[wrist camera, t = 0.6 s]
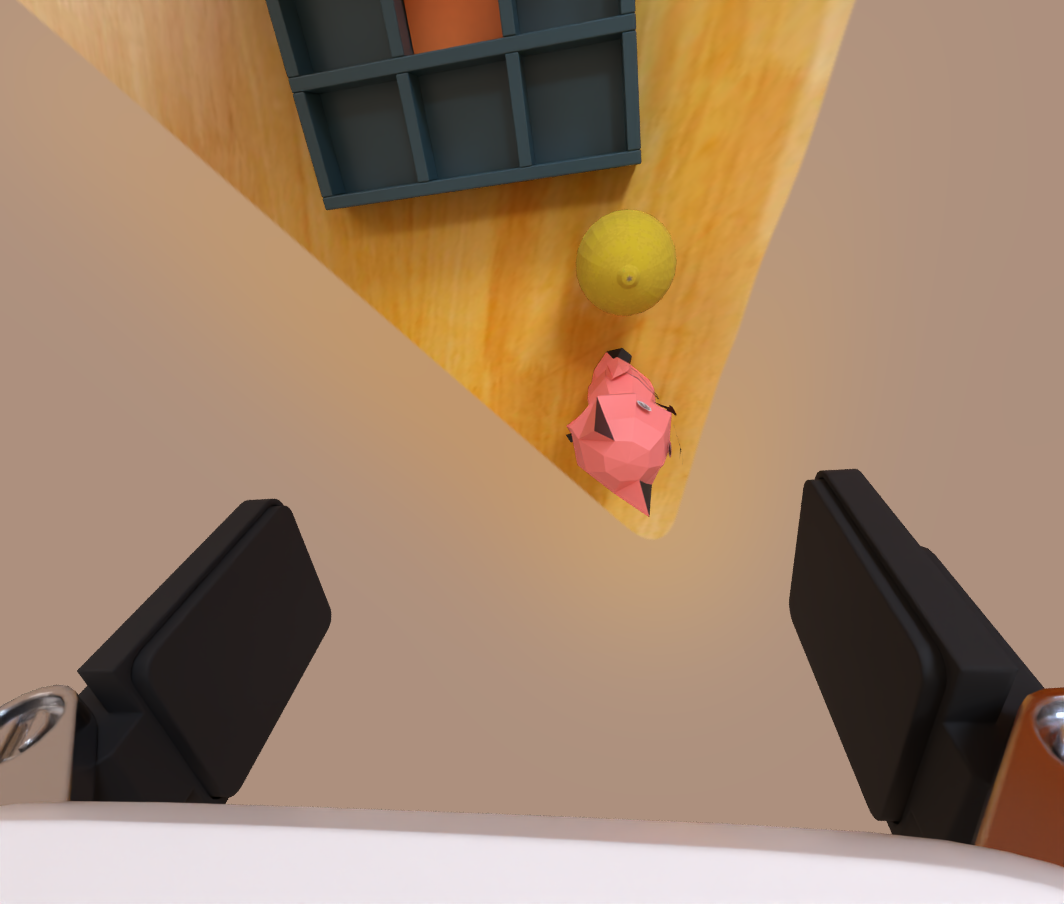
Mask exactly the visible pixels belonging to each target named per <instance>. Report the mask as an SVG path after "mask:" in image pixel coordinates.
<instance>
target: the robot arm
mask: <svg viewBox="0 0 1064 904" xmlns="http://www.w3.org/2000/svg"><path fill="white" fill-rule="evenodd" d="M789 608H790V614H791V619H792V622H793V624H794V627H795V629H796V632H797V634H798V636H799V639H800V641H801V644H802V646H803V649H804V651H805V653H806V656H807V658H808V661H809V663H810V666H811V668H812V671H813V673H814V676H815V678H816V681H817V683H818V686H819V688H820V690H821V693H822V695H823V698H824V700H825V703H826V705H827V708H828V710H829V712H830V715H831V717H832V720H833V722H834V725H835V727H836V730H837V732H838V734H839V737H840V739H841V742H842V744H843V747H844V749H845V752H846V754H847V757H848V759H849V761H850V764H851V766H852V769H853V771H854V774H855V776H856V779H857V781H858V783H859V786H860V788H861V791H862V793H863V796H864V798H865V800H866V803H867V805H868V808H869V809H870V812H871V814H872V815H873V816H874V818H875V819H876V820H878V821H887V823H888V826H889V828H890V830H891V832H892V834H882V833H873V832H860V831H843V830H827V829H810V828H794V827H777V826H776V827H775V826H761V825H744V824H725V823H703V822H702V823H701V822H679V821H657V820H656V821H655V820H632V819H610V818H587V817H564V816H541V815H516V814H489V813H464V812H437V811H410V810H382V809H355V808H329V807H328V808H327V807H298V806H265V805H234V804H226V802H227V800H228V798H229V797H232V796H234V795H235V794H236V793H237V792H238V791H239V789H240V788H241V786H242V785H243V783H244V781H245V779H246V777H247V775H248V774H249V772H250V770H251V768H252V766H253V765H254V763H255V761H256V759H257V757H258V755H259V754H260V752H261V750H262V748H263V746H264V745H265V743H266V741H267V739H268V737H269V735H270V734H271V732H272V730H273V728H274V726H275V725H276V723H277V721H278V719H279V717H280V715H281V714H282V712H283V710H284V708H285V706H286V705H287V703H288V701H289V699H290V697H291V695H292V694H293V692H294V690H295V688H296V686H297V684H298V683H299V681H300V679H301V677H302V676H303V673H304V672H305V670H306V668H307V666H308V665H309V662H310V661H311V659H312V657H313V656H314V654H315V652H316V650H317V648H318V647H319V645H320V642H321V641H322V639H323V637H324V636H325V634H326V632H327V630H328V628H329V626H330V622H331V609H330V606H329V604H328V601H327V599H326V596H325V594H324V591H323V588H322V586H321V583H320V581H319V578H318V576H317V574H316V571H315V568H314V566H313V563H312V561H311V558H310V556H309V553H308V551H307V549H306V546H305V544H304V541H303V538H302V536H301V533H300V531H299V528H298V526H297V524H296V521H295V518H294V516H293V513H292V511H291V510H290V508H288V507H287V506H284V505H283V504H282V503H281V502H280V501H279V500H277V499H262V500H247V501H244V502H243V503H241V504H240V505H239V507H237V508H236V509H235V510H234V512H232V514H230V515H229V517H228V518H227V519H226V520H225V521H224V522H223V523H222V524H221V525H220V526H219V527H218V528H217V529H216V530H215V531H214V532H213V533H212V534H211V535H210V536H209V537H208V538H207V539H206V540H205V541H204V542H203V543H202V544H201V545H200V546H199V547H198V548H197V549H196V550H195V551H194V552H193V553H192V554H191V555H190V556H189V557H188V558H187V559H186V561H184V562H183V563H182V564H181V565H180V566H179V568H178V569H176V570H175V572H174V573H173V574H172V575H171V576H170V577H169V578H168V579H167V580H166V581H165V582H164V583H163V584H162V585H161V586H160V587H159V588H158V589H157V590H156V591H155V592H154V593H153V594H152V595H151V596H150V597H149V598H148V599H147V600H146V601H145V602H144V603H143V604H142V605H141V606H140V607H139V608H138V609H137V610H136V611H135V612H134V613H133V614H132V615H131V616H130V618H128V619H127V620H126V621H125V622H124V623H123V624H122V626H121V627H120V628H119V629H118V630H117V631H116V632H115V633H114V634H113V635H112V636H111V637H110V638H109V639H108V640H107V641H106V642H105V643H104V644H103V645H102V646H101V647H100V648H99V649H98V650H97V651H96V652H95V653H94V654H93V655H92V656H91V657H90V658H89V659H88V660H87V661H86V662H85V663H84V664H83V665H82V666H81V667H80V668H79V669H78V670H77V672H78V673H79V674H80V676H81V677H82V678H83V680H84V681H85V683H86V684H87V685H88V686H87V687H86V688H85V689H84V690H83V691H82V692H81V693H80V694H79V695H78V694H77V693H76V691H75V690H73V689H72V688H70V687H69V686H63V685H53V686H47V687H42V688H39V689H36V690H33V691H30V692H28V693H25V694H23V695H21V696H19V697H17V698H15V699H13V700H11V701H9V702H7V703H5V704H4V705H2V706H1V707H0V904H1064V688H1048V689H1045V688H1044V687H1043V686H1042V685H1041V684H1040V682H1039V681H1038V680H1037V679H1036V677H1035V676H1034V675H1033V674H1032V673H1031V671H1030V670H1029V669H1028V668H1027V666H1026V665H1025V664H1024V663H1023V662H1022V660H1021V659H1020V658H1019V657H1018V655H1017V654H1016V653H1015V652H1014V651H1013V649H1012V648H1011V647H1010V646H1009V644H1008V643H1007V642H1006V641H1005V640H1004V638H1003V637H1002V636H1001V635H1000V633H999V632H998V631H997V630H996V629H995V627H994V626H993V625H992V624H991V623H990V621H989V620H988V619H987V618H986V616H985V615H984V614H983V613H982V611H981V610H980V609H979V608H978V607H977V605H976V604H975V603H974V602H973V601H972V599H971V598H970V597H969V596H968V594H967V593H966V592H965V591H964V590H963V588H962V587H961V586H960V585H959V583H958V582H957V581H956V580H955V579H954V577H953V576H952V575H951V574H950V572H949V571H948V570H947V569H946V568H945V566H944V565H943V564H942V563H941V561H940V560H939V559H938V558H937V557H936V555H935V554H933V553H932V552H931V551H930V550H929V549H928V548H925V547H922V546H920V545H919V544H918V543H917V541H916V540H915V539H914V538H913V537H912V535H911V534H910V533H909V531H908V530H907V529H906V528H905V526H904V525H903V524H902V523H901V522H900V520H899V519H898V518H897V516H896V515H895V514H894V513H893V512H892V510H891V509H890V508H889V506H888V505H887V504H886V503H885V502H884V500H883V499H882V498H881V496H880V495H879V494H878V493H877V491H876V490H875V489H874V488H873V486H872V485H871V484H870V483H869V481H868V480H867V479H866V478H865V477H864V475H863V474H862V473H861V472H860V471H859V470H858V469H845V470H825V471H819V472H818V473H817V475H816V477H815V480H807V481H806V482H805V484H804V488H803V496H802V503H801V512H800V519H799V527H798V535H797V543H796V551H795V558H794V566H793V574H792V582H791V590H790V597H789Z"/></svg>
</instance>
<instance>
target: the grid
mask: <svg viewBox="0 0 1064 904" xmlns="http://www.w3.org/2000/svg"><path fill="white" fill-rule="evenodd" d="M266 3H267V7H268V10H269V14H270V17H271V21H272V24H273V28H274V31H275V35H276V38H277V42H278V45H279V49H280V52H281V56H282V59H283V63H284V66H285V70H286V73H287V76H288V78H289V83H290V87H291V90H292V93H294V94H293V97H294V101H295V104H296V108H297V111H298V115H299V118H300V122H301V125H302V128H303V132H304V135H305V139H306V142H307V146H308V149H309V153H310V156H311V160H312V163H313V167H314V170H315V174H316V177H317V181H318V184H319V188H320V191H321V195H322V197H324V198H323V202H324V205H325V209H326V210H333V209H339V208H346V207H353V206H360V205H366V204H373V203H380V202H387V201H393V200H400V199H407V198H414V197H420V196H427V195H434V194H441V193H447V192H454V191H461V190H468V189H474V188H481V187H488V186H495V185H501V184H508V183H515V182H522V181H528V180H535V179H542V178H549V177H556V176H562V175H569V174H576V173H583V172H589V171H596V170H603V169H610V168H616V167H623V166H630V165H637V164H641V150H639V149H640V148H641V142H640V116H639V91H638V65H637V39H636V31H635V30H636V14H635V0H266Z"/></svg>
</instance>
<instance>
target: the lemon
mask: <svg viewBox="0 0 1064 904" xmlns="http://www.w3.org/2000/svg"><path fill="white" fill-rule="evenodd" d="M675 268H676V252H675V246H674V243H673V241H672V238H671V236H670V233H669V232H668V231H667V229H666V228H665V227H664V225H663V224H662V223H661V222H659V221H658V220H657V219H655V218H654V217H653V216H652V215H649V214H647V213H644V212H642V211H638V210H628V209H626V210H620V211H615V212H612V213H610V214H608V215H605V216H603V217H601V218H600V219H599V220H598V221H596V222H595V223H594V224H593V225H592V226H591V227H590V228H589V229H588V231H587V232H586V233H585V235H584V236H583V238H582V241H581V243H580V245H579V248H578V252H577V257H576V273H577V278H578V281H579V284H580V287H581V289H582V291H583V292H584V294H585V295H586V297H587V299H588V300H590V301H591V302H592V303H593V304H594V305H595V306H596V307H597V308H599V309H601V310H603V311H605V312H607V313H610V314H614V315H618V316H627V315H634V314H638V313H642V312H644V311H646V310H647V309H649V308H651V307H653V306H654V305H655V304H656V303H657V302H658V301H659V300H661V299H662V298H663V296H664V295H665V293H666V292H667V290H668V289H669V287H670V285H671V283H672V280H673V277H674V275H675Z"/></svg>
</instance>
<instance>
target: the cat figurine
mask: <svg viewBox="0 0 1064 904" xmlns="http://www.w3.org/2000/svg"><path fill="white" fill-rule="evenodd" d="M630 362H631V355H630V354H629V353H628V352H626V351H625V350H624V349H623V348H621V349H616V350H612V351H607V352H606V353H605V354H604V356H603V358H602V359H601V361H600V362H599V364H598V365H597V367H596V368H595V370H594V373H593V378H592V383H591V384H590V385H589V388H588V405H589V406H588V407H587V408H586V409H585V410H584V411H583V413H582V414H581V415H580V416H579V417H577V418H576V419H575V420H574V421H572V422H571V423H570V424H568V425H567V428H568V429H569V431H570V432H571V433H570V434H567V435H566V436H567V437H568V439H569V440H570V442H573V444H574V449H575V454H576V459H577V464H578V466H580V467H581V468H582V469H583V470H585V471H586V472H587V473H588V474H590V475H591V476H592V477H594V478H595V479H596V480H597V481H599V482H600V483H601V484H603V485H604V486H605V487H607V488H608V489H609V490H610V491H612V492H613V493H614V494H616V495H617V496H619V497H620V498H622V499H623V500H625V501H626V502H628V503H629V504H631V505H632V506H634V507H635V508H637V509H638V510H640V511H641V512H642V513H644V514H645V515H647V516H648V517H649V515H650V501H651V488H652V483H653V481H654V479H655V477H656V475H657V473H658V471H659V469H660V468H661V467H662V466H663V465H664V462H665V459H666V457H667V454H668V451H669V457H671V443H670V428H671V414H672V413H673V414H674V415H675V416H676V413H675V411H674V409H673V407H672V406H670V405H669V407H666V406H663V405H660V404H658V403H656V402H655V396H656V395H655V394H656V393H655V392H654V388H653V386H652V384H651V382H650V380H649V379H648V378H646V377H645V376H644V375H643V374H641V373H640V372H639V371H638V370H636V369H635V368H634V367H633V366H631V365H630ZM656 397H657V396H656ZM657 398H658V397H657ZM658 399H659V398H658ZM655 403H656V404H658V405H660V406H661V407H664V408H666V409H667V410H665V409H663V408H661V407H659V406H657V405H656V404H655ZM670 412H671V413H670ZM677 438H678V437H677ZM679 445H680V444H679ZM680 452H682V451H681V448H680Z"/></svg>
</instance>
